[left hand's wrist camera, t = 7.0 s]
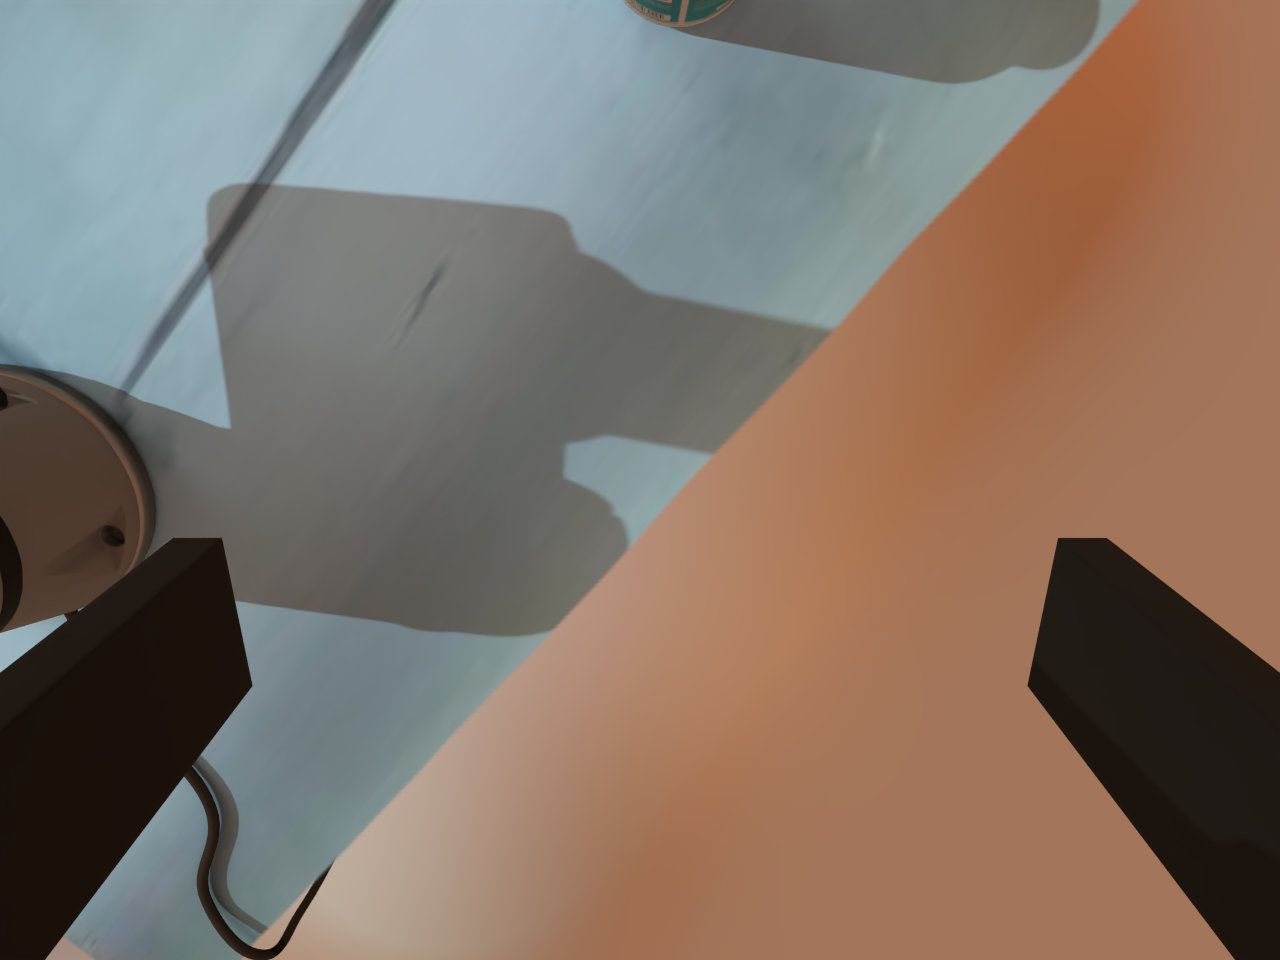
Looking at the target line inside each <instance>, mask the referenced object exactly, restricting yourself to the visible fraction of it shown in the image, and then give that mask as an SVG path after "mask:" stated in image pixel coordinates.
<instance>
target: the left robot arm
mask: <svg viewBox="0 0 1280 960" xmlns="http://www.w3.org/2000/svg"><path fill="white" fill-rule="evenodd" d="M154 526H155V502H154V496H153V491H152V487H151V483H150V480H149V477H148V474H147V472H146V469H145V467H144V465H143V463H142V461H141V459H140V457H139V455H138V453H137V451H136V450H135V448H134V447H133V445H132V443H131V442H130V441H129V439H128V438H127V437H126V435H125V434H124V432H123V431H122V430H121V429H120V428H119V427H118V426H117V424H116V423H115V422H114V421H113V420H112V419H111V418H110V417H109V416H108V415H107V414H106V413H105V412H104V411H103V410H101V409H100V408H99V407H98V406H97V405H95V404H94V403H93V402H92V401H90V400H89V399H88V398H86V397H85V396H83V395H82V394H81V393H79V392H77V391H76V390H74V389H72V388H71V387H69V386H67V385H65V384H63V383H61V382H59V381H57V380H55V379H53V378H51V377H48V376H46V375H43V374H40V373H37V372H34V371H31V370H28V369H24V368H19V367H15V366H8V365H1V364H0V633H2V632H5V631H8V630H12V629H15V628H19V627H22V626H25V625H29V624H32V623H35V622H39V621H42V620H45V619H49V618H52V617H55V616H59V615H62V614H64V615H65V617H66V618H67V621H66V622H65V623H63V624H62V625H61V626H60V627H58V628H57V629H56V630H54V631H53V632H52V633H51V634H49V635H48V636H47V637H46V638H44V639H43V640H42V641H40V642H39V643H38V644H37V645H35V646H34V647H33V648H31V649H30V650H29V651H28V652H26V653H25V654H24V655H22V656H21V657H20V658H19V659H17V660H16V661H15V662H13V663H12V664H11V665H10V666H8V667H7V668H6V669H4V670H3V671H2V672H1V673H0V960H45V959H46V958H47V956H48V955H49V954H50V952H51V951H52V950H53V948H54V947H55V946H56V945H57V943H58V942H59V941H60V939H61V938H62V937H63V935H64V934H65V933H66V931H67V930H68V929H69V927H70V926H71V925H72V923H73V922H74V921H75V919H76V918H77V917H78V915H79V914H80V913H81V912H82V910H83V909H84V908H85V906H86V905H87V904H88V902H89V901H90V900H91V898H92V897H93V896H94V894H95V893H96V892H97V890H98V889H99V888H100V886H101V885H102V884H103V882H104V881H105V880H106V879H107V877H108V876H109V875H110V873H111V872H112V871H113V869H114V868H115V867H116V865H117V864H118V863H119V861H120V860H121V859H122V857H123V856H124V855H125V853H126V852H127V851H128V849H129V848H130V847H131V846H132V844H133V843H134V842H135V840H136V839H137V838H138V836H139V835H140V834H141V832H142V831H143V830H144V828H145V827H146V826H147V824H148V823H149V822H150V820H151V819H152V818H153V817H154V815H155V814H156V813H157V811H158V810H159V809H160V807H161V806H162V805H163V803H164V802H165V801H166V799H167V798H168V797H169V795H170V794H171V793H172V791H173V790H174V789H175V787H176V786H177V785H178V784H179V782H180V781H181V780H182V778H183V777H185V778H186V779H187V780H188V782H189V783H190V784H191V786H192V787H193V788H194V790H195V792H196V793H197V795H198V796H199V798H200V800H201V802H202V804H203V806H204V809H205V812H206V815H207V820H208V836H207V842H206V845H205V849H204V852H203V855H202V858H201V861H200V865H199V869H198V874H197V890H198V895H199V898H200V901H201V903H202V906H203V908H204V910H205V912H206V914H207V916H208V918H209V919H210V921H211V923H212V924H213V926H214V927H215V929H216V930H217V932H218V933H219V934H220V936H221V937H222V938H223V939H224V941H225V942H226V943H227V944H228V945H229V946H230V947H231V948H232V949H234V950H235V951H236V952H238V953H239V954H241V955H242V956H244V957H246V958H249V959H252V960H269V959H272V958H274V957H276V956H278V955H279V954H280V953H281V952H282V951H283V949H284V948H285V947H286V946H287V944H288V943H289V941H290V939H291V937H292V935H293V933H294V931H295V929H296V927H297V925H298V923H299V922H300V920H301V918H302V917H303V915H304V913H305V912H306V910H307V908H308V907H309V905H310V904H311V902H312V900H313V899H314V897H315V896H316V894H317V892H318V890H319V889H320V887H321V885H322V883H323V882H324V880H325V878H326V876H327V874H328V872H329V871H330V869H331V867H332V865H333V863H334V862H333V863H332V864H331V865H330V866H329V867H328V868H326V870H325V871H324V872H323V873H322V874H321V875H320V876H319V877H318V878H317V879H316V880H315V881H314V883H313V884H312V886H311V888H310V889H309V891H308V893H307V894H306V896H305V898H304V899H303V901H302V902H301V904H300V905H299V907H298V908H297V910H296V912H295V913H294V915H293V916H292V918H291V920H290V922H289V924H288V925H287V927H286V929H285V931H284V933H283V935H282V937H281V938H280V940H279V942H278V943H277V944H276V945H275V946H274V947H272V948H270V949H267V950H262V949H256V948H253V947H251V946H249V945H247V944H246V943H244V942H243V941H242V940H241V939H239V938H238V937H237V936H236V935H235V934H234V933H233V931H232V930H231V929H230V928H229V926H228V925H227V924H226V922H225V921H224V919H223V918H222V916H221V915H220V913H219V911H218V909H217V908H216V906H215V904H214V902H213V900H212V897H211V895H210V892H209V886H208V875H209V869H210V866H211V862H212V859H213V856H214V853H215V850H216V846H217V843H218V838H219V832H220V821H219V814H218V811H217V807H216V804H215V802H214V799H213V797H212V795H211V793H210V791H209V789H208V787H207V786H206V784H205V783H204V781H203V780H202V778H201V777H200V776H199V774H198V773H197V772H196V771H195V769H194V768H193V767H192V765H193V764H194V762H195V761H196V760H197V758H198V757H199V756H200V754H201V753H202V752H203V751H204V749H205V748H206V747H207V745H208V744H209V743H210V741H211V740H212V739H213V737H214V736H215V735H216V733H217V732H218V731H219V729H220V728H221V727H222V725H223V724H224V723H225V721H226V720H227V719H228V718H229V716H230V715H231V714H232V712H233V711H234V710H235V708H236V707H237V706H238V704H239V703H240V702H241V700H242V699H243V698H244V696H245V695H246V694H247V692H248V691H249V690H250V688H251V687H252V681H251V676H250V671H249V667H248V662H247V657H246V652H245V647H244V642H243V638H242V633H241V628H240V623H239V618H238V613H237V609H236V604H235V599H234V594H233V589H232V585H231V580H230V575H229V570H228V565H227V560H226V556H225V551H224V546H223V541H222V538H173V539H171V540H170V541H169V542H167V543H166V544H165V545H164V546H162V547H161V548H160V549H158V550H157V551H156V552H155V553H153V554H152V555H151V556H149V557H148V558H147V559H146V560H144V561H143V559H144V557H145V555H146V554H147V551H148V549H149V546H150V544H151V540H152V537H153V533H154ZM142 561H143V562H142ZM141 562H142V563H141ZM84 606H85V607H84ZM82 607H84V608H83V609H81V610H80V611H78V609H80V608H82ZM1028 687H1029V688H1030V690H1031V691H1032V692H1033V694H1034V695H1035V696H1036V698H1037V699H1038V700H1039V702H1040V703H1041V704H1042V706H1043V707H1044V708H1045V710H1046V711H1047V712H1048V714H1049V715H1050V716H1051V717H1052V719H1053V720H1054V721H1055V723H1056V724H1057V725H1058V727H1059V728H1060V729H1061V731H1062V732H1063V733H1064V735H1065V736H1066V737H1067V739H1068V740H1069V741H1070V743H1071V744H1072V745H1073V746H1074V748H1075V749H1076V750H1077V752H1078V753H1079V754H1080V756H1081V757H1082V758H1083V760H1084V761H1085V762H1086V764H1087V765H1088V766H1089V768H1090V769H1091V770H1092V772H1093V773H1094V774H1095V776H1096V777H1097V778H1098V780H1099V781H1100V782H1101V784H1102V785H1103V786H1104V787H1105V789H1106V790H1107V791H1108V793H1109V794H1110V795H1111V797H1112V798H1113V799H1114V801H1115V802H1116V803H1117V805H1118V806H1119V807H1120V809H1121V810H1122V811H1123V813H1124V814H1125V815H1126V816H1127V818H1128V819H1129V820H1130V822H1131V823H1132V824H1133V826H1134V827H1135V828H1136V830H1137V831H1138V832H1139V834H1140V835H1141V836H1142V838H1143V839H1144V840H1145V842H1146V843H1147V844H1148V846H1149V847H1150V848H1151V850H1152V851H1153V852H1154V853H1155V855H1156V856H1157V857H1158V859H1159V860H1160V861H1161V863H1162V864H1163V865H1164V867H1165V868H1166V869H1167V871H1168V872H1169V873H1170V875H1171V876H1172V877H1173V878H1174V880H1175V881H1176V882H1177V884H1178V885H1179V886H1180V888H1181V889H1182V890H1183V892H1184V893H1185V894H1186V896H1187V897H1188V898H1189V900H1190V901H1191V902H1192V904H1193V905H1194V906H1195V908H1196V909H1197V910H1198V912H1199V913H1200V914H1201V915H1202V917H1203V918H1204V919H1205V921H1206V922H1207V923H1208V925H1209V926H1210V927H1211V929H1212V930H1213V931H1214V933H1215V934H1216V935H1217V937H1218V938H1219V939H1220V941H1221V942H1222V943H1223V945H1224V946H1225V947H1226V948H1227V950H1228V951H1229V952H1230V954H1231V955H1232V956H1233V958H1234V959H1235V960H1280V673H1279V672H1278V671H1277V670H1276V669H1274V668H1273V667H1272V666H1270V665H1269V664H1268V663H1267V662H1265V661H1264V660H1263V659H1261V658H1260V657H1259V656H1258V655H1256V654H1255V653H1254V652H1252V651H1251V650H1250V649H1249V648H1247V647H1246V646H1245V645H1243V644H1242V643H1241V642H1240V641H1238V640H1237V639H1236V638H1234V637H1233V636H1232V635H1231V634H1229V633H1228V632H1227V631H1226V630H1224V629H1223V628H1222V627H1220V626H1219V625H1218V624H1216V623H1215V622H1214V621H1213V620H1211V619H1210V618H1209V617H1208V616H1206V615H1205V614H1204V613H1202V612H1201V611H1200V610H1199V609H1197V608H1196V607H1195V606H1193V605H1192V604H1191V603H1190V602H1188V601H1187V600H1186V599H1184V598H1183V597H1182V596H1181V595H1179V594H1178V593H1177V592H1175V591H1174V590H1173V589H1172V588H1170V587H1169V586H1168V585H1166V584H1165V583H1164V582H1163V581H1161V580H1160V579H1159V578H1157V577H1156V576H1155V575H1154V574H1152V573H1151V572H1150V571H1148V570H1147V569H1146V568H1145V567H1143V566H1142V565H1141V564H1140V563H1138V562H1137V561H1136V560H1134V559H1133V558H1132V557H1130V556H1129V555H1128V554H1127V553H1125V552H1124V551H1123V550H1121V549H1120V548H1119V547H1118V546H1116V545H1115V544H1114V543H1112V542H1111V541H1110V540H1109V539H1107V538H1058V541H1057V546H1056V551H1055V556H1054V560H1053V565H1052V570H1051V575H1050V580H1049V585H1048V589H1047V594H1046V599H1045V604H1044V609H1043V614H1042V618H1041V623H1040V628H1039V633H1038V638H1037V642H1036V647H1035V652H1034V657H1033V662H1032V667H1031V672H1030V676H1029V681H1028Z"/></svg>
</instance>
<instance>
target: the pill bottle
mask: <svg viewBox="0 0 1280 960" xmlns="http://www.w3.org/2000/svg"><path fill="white" fill-rule="evenodd" d="M623 1H624V2H625V3H626V4H627V5H628V6H629V7H630V8H631V9H632V10H633V11H634V12H635V13H637V14H638V15H640V16H641V17H643V18H645V19H646V20H648V21H651V22H653V23H656V24H659V25H663V26H667V27H688V26H694V25H697V24H700V23H703V22H706V21H708V20H710V19H712V18H714V17H715V16H717V15H719V14H720V13H721V12H723V11H724V10H725V9H726V8H727V7H729V6H730V5H731V4H732V2H733V1H734V0H623Z"/></svg>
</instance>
